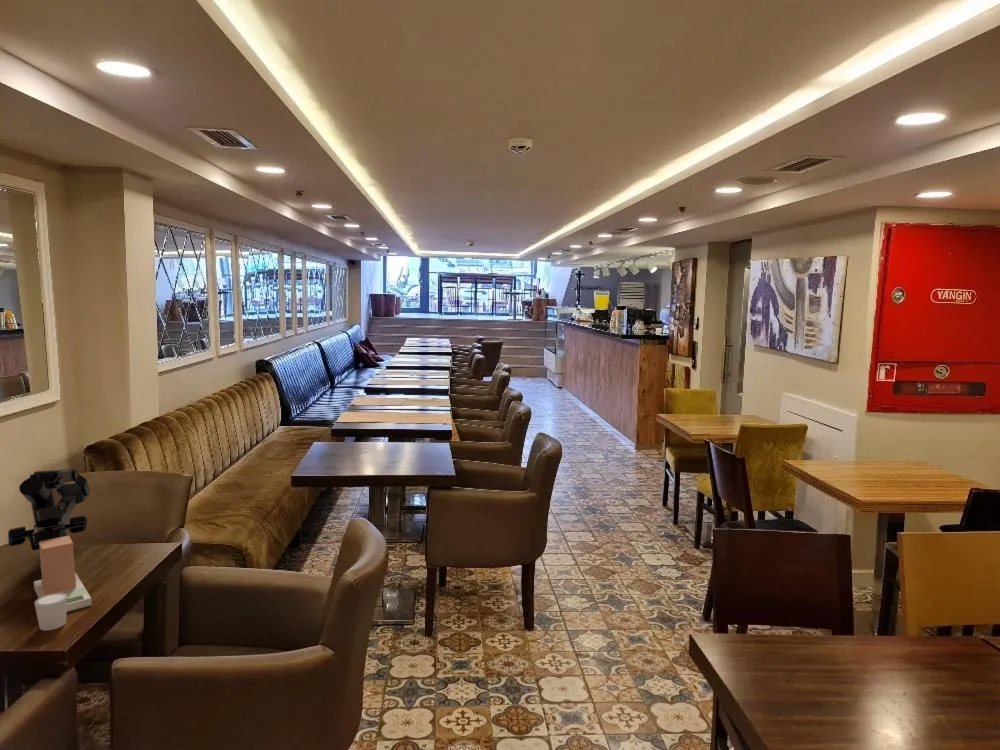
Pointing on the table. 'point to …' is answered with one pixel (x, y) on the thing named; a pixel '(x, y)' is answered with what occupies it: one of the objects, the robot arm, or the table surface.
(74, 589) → the trap board
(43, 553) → the terracotta block
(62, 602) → the white cup
